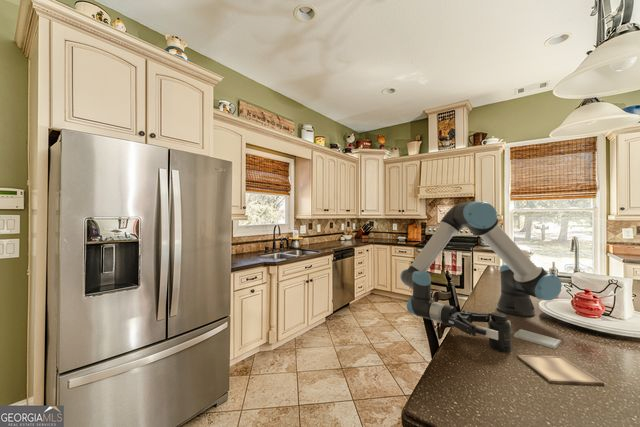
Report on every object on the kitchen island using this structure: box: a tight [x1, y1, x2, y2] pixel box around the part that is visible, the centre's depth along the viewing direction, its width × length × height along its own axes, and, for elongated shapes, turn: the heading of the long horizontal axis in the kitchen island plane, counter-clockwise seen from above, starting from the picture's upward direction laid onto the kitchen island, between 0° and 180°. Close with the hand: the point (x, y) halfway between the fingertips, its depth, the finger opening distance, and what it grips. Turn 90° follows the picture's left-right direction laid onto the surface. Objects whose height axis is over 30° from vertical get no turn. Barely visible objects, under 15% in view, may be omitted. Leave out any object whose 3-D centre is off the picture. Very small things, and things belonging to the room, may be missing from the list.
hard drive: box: [513, 328, 562, 350], centre depth 101 cm, size 2×8×12 cm
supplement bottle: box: [487, 311, 513, 353], centre depth 95 cm, size 7×7×12 cm
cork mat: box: [516, 354, 605, 386], centre depth 81 cm, size 14×14×1 cm
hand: (504, 330), depth 93 cm, fingers open, 13 cm apart
